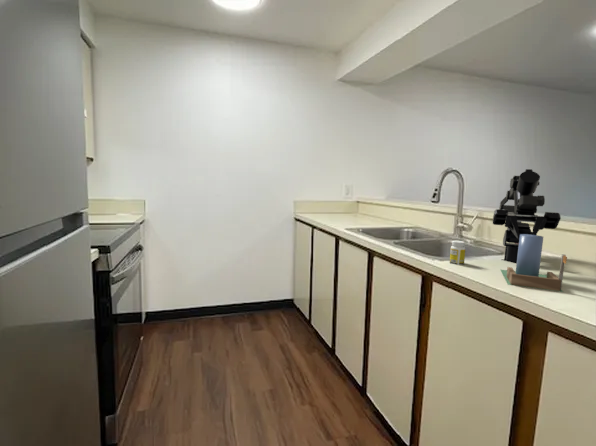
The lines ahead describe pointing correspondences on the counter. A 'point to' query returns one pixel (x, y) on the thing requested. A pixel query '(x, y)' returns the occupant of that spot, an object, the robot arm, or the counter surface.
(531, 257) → the blue domed cylinder
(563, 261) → the wooden rack
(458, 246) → the supplement bottle
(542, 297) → the counter surface
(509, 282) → the felt mat
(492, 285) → the counter surface
